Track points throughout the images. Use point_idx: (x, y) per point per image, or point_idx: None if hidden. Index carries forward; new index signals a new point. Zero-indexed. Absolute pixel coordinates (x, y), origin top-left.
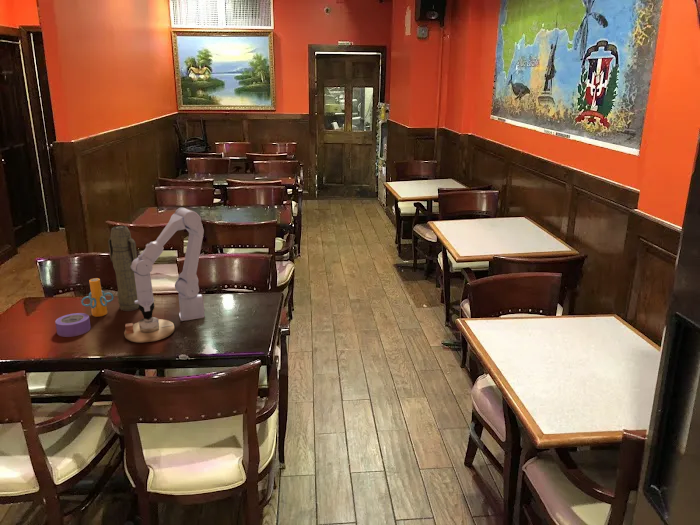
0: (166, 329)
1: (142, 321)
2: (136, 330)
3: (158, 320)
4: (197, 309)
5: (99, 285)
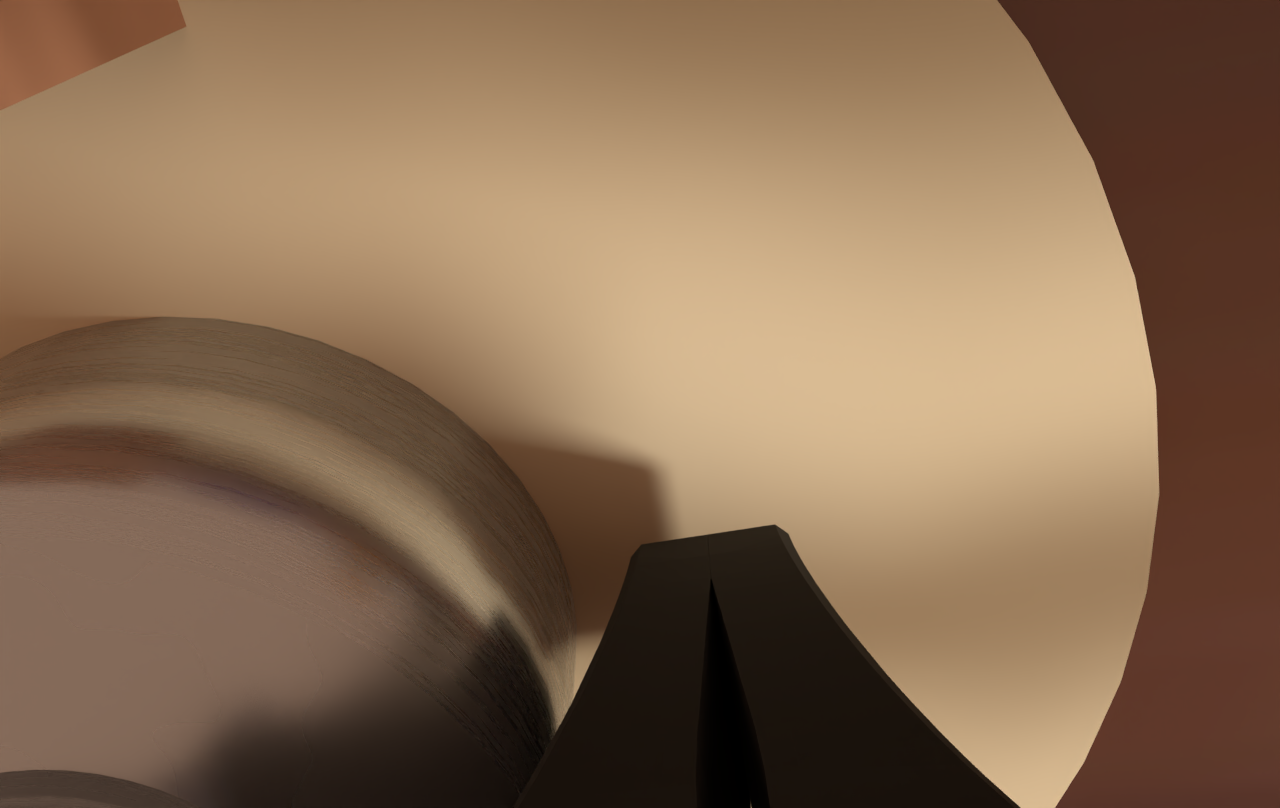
0: None
1: (11, 702)
2: (151, 173)
3: None
4: None
5: None
